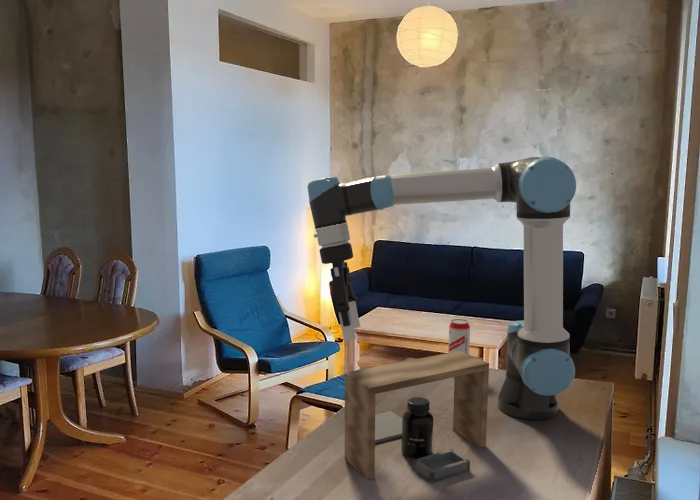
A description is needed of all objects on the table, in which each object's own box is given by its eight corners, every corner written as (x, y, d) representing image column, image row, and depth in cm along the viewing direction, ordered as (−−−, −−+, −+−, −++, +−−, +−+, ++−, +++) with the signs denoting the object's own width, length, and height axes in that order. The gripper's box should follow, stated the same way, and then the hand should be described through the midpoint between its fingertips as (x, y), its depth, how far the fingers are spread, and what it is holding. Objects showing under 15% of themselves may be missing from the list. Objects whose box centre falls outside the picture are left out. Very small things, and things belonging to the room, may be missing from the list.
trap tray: (413, 469, 131) (414, 459, 130) (451, 458, 136) (452, 448, 135) (430, 482, 126) (431, 472, 125) (469, 470, 130) (470, 460, 130)
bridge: (344, 458, 135) (344, 372, 132) (457, 428, 150) (460, 350, 147) (368, 479, 127) (369, 388, 124) (485, 445, 141) (489, 363, 138)
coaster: (390, 414, 158) (390, 411, 158) (418, 432, 148) (418, 429, 148) (349, 423, 153) (349, 420, 153) (374, 443, 142) (375, 440, 142)
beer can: (453, 367, 193) (454, 317, 190) (472, 371, 189) (474, 320, 187) (444, 373, 188) (445, 321, 185) (463, 377, 184) (464, 325, 182)
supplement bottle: (412, 462, 134) (413, 409, 132) (395, 449, 140) (396, 398, 138) (438, 455, 137) (440, 403, 135) (421, 442, 143) (422, 392, 141)
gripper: (325, 244, 158) (342, 326, 159) (311, 251, 133) (330, 348, 134) (354, 238, 157) (371, 320, 158) (345, 244, 132) (365, 342, 133)
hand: (352, 333), depth 146 cm, fingers open, 13 cm apart
